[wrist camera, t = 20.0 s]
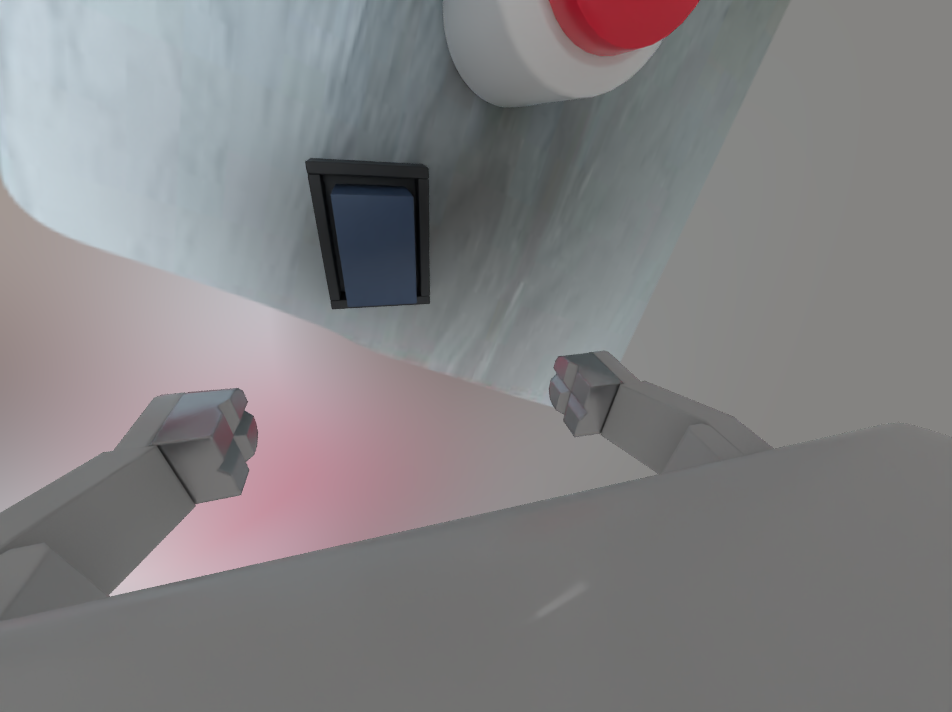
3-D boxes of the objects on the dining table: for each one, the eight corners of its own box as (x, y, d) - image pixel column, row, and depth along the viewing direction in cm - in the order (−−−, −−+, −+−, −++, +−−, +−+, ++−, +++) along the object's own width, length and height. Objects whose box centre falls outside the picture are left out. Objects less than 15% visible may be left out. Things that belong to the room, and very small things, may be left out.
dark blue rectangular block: (335, 183, 20) (330, 193, 16) (405, 186, 21) (413, 196, 17) (349, 282, 23) (347, 307, 20) (409, 280, 24) (417, 303, 21)
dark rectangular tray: (309, 157, 19) (304, 160, 17) (423, 164, 21) (428, 167, 19) (333, 296, 24) (331, 309, 22) (425, 292, 25) (429, 304, 24)
